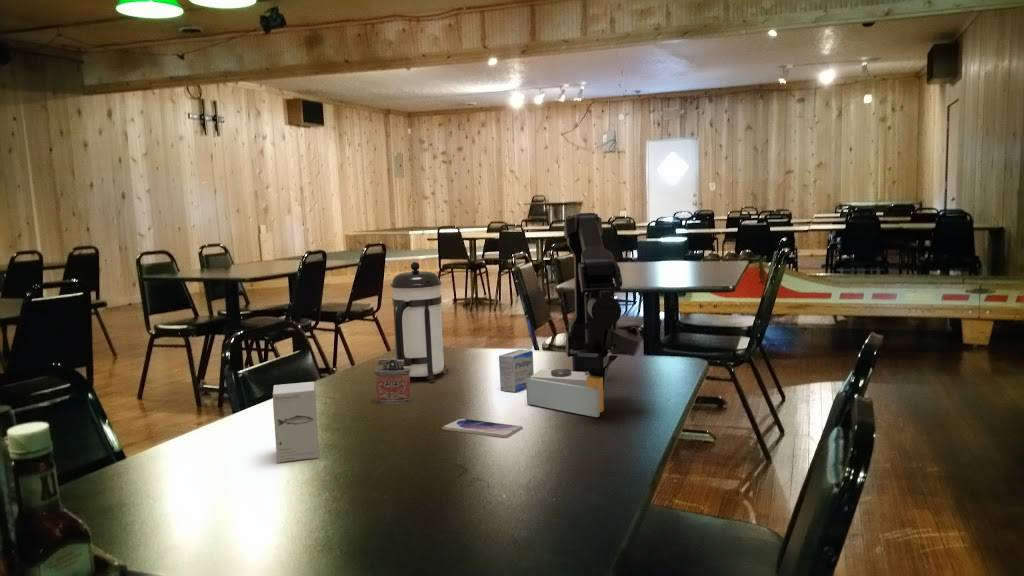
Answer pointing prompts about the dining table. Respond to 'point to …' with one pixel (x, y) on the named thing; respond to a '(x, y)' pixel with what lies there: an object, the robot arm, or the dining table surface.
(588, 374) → the camera housing
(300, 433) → the supplement box
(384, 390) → the lighter
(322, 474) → the dining table surface
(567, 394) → the side door
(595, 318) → the robot arm
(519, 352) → the medicine box
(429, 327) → the coffee press
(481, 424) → the smartphone
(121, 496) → the dining table surface
